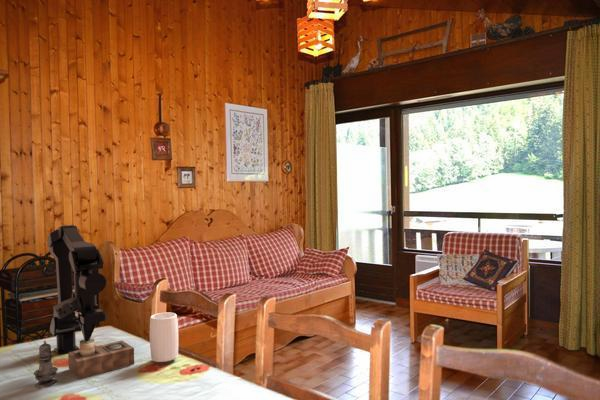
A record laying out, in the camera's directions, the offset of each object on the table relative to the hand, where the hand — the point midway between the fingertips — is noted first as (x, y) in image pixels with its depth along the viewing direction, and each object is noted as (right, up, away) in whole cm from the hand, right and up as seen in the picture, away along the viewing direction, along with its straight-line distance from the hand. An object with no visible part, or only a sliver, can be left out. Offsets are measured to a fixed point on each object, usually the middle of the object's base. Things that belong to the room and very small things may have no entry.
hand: (86, 340), depth 136 cm
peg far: (+6, -8, +5) cm, 12 cm away
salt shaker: (-7, -9, -9) cm, 15 cm away
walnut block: (+3, -9, +3) cm, 10 cm away
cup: (+21, -9, +6) cm, 24 cm away
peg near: (0, -5, 0) cm, 5 cm away
